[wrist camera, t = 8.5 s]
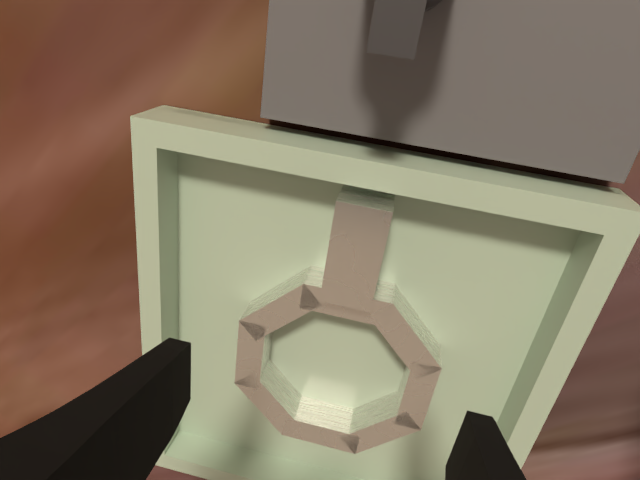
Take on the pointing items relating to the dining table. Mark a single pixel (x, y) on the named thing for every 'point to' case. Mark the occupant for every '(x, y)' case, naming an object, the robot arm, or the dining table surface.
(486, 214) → the tray
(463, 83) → the base
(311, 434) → the ring
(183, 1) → the dining table surface
